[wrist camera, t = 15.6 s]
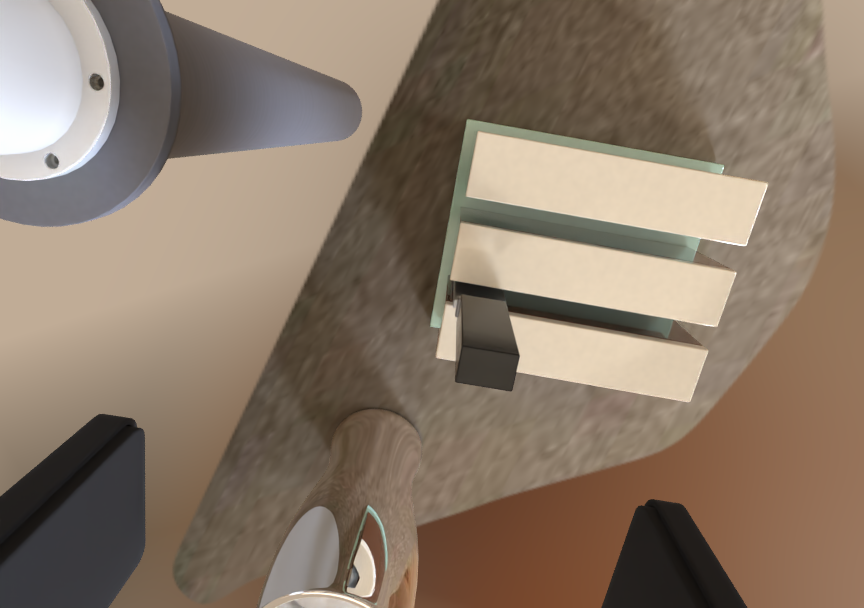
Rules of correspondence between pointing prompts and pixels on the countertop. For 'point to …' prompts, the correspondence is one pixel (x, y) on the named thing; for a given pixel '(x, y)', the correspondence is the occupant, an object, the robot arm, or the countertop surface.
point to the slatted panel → (593, 254)
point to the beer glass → (354, 523)
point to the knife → (484, 337)
